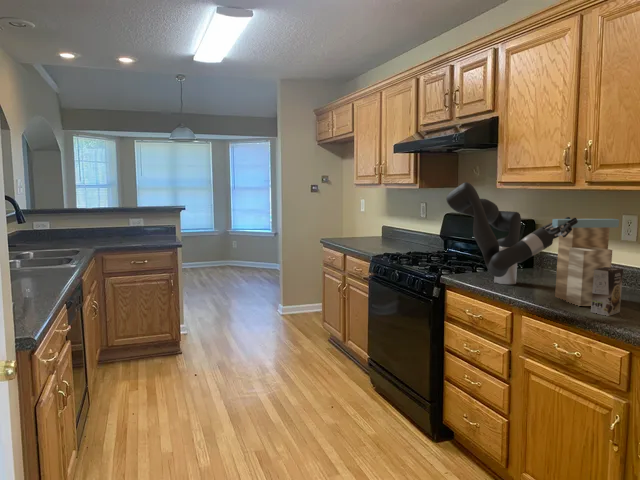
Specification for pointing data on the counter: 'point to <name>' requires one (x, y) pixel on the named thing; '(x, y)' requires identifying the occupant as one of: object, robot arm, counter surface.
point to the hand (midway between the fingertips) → (572, 219)
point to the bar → (588, 223)
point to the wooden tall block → (576, 240)
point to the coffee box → (607, 291)
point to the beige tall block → (584, 272)
